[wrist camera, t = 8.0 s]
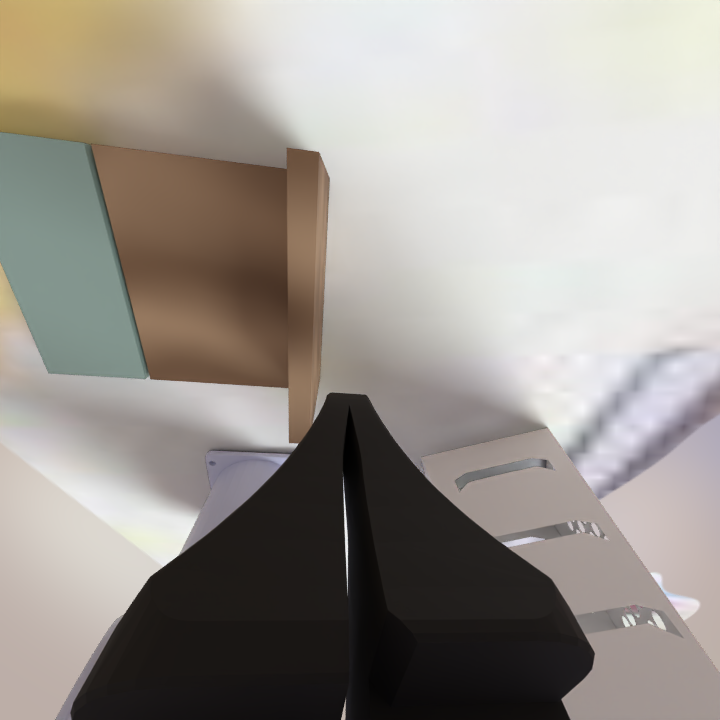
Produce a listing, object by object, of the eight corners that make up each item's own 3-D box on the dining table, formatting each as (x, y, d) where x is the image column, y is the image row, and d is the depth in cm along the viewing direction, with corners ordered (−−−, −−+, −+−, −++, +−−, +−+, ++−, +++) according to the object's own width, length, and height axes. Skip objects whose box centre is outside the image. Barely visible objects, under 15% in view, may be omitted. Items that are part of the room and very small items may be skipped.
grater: (547, 427, 23) (1249, 1152, 5) (544, 509, 28) (908, 1040, 10) (420, 457, 24) (645, 1170, 6) (438, 531, 28) (594, 1059, 11)
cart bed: (320, 378, 20) (309, 443, 14) (164, 368, 19) (84, 433, 13) (329, 178, 15) (318, 152, 9) (115, 150, 14) (-51, 102, 8)
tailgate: (145, 378, 18) (48, 373, 17) (157, 369, 19) (66, 363, 18) (83, 142, 12) (-59, 124, 12) (105, 149, 14) (-24, 132, 13)
